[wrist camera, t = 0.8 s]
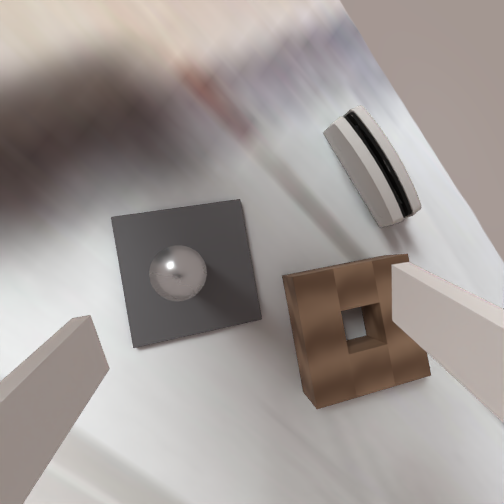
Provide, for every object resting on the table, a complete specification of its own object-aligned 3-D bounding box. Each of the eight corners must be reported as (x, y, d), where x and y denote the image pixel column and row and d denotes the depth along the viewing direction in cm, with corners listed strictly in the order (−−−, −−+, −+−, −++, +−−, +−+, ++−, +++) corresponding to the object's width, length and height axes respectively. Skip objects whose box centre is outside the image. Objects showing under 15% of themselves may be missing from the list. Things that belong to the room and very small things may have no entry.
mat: (113, 218, 34) (110, 217, 33) (239, 200, 37) (240, 199, 36) (134, 346, 34) (133, 348, 33) (260, 318, 36) (261, 319, 36)
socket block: (282, 275, 37) (292, 276, 33) (385, 255, 40) (407, 253, 36) (303, 392, 37) (316, 409, 33) (405, 363, 40) (431, 375, 35)
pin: (170, 257, 34) (144, 250, 19) (202, 251, 35) (201, 241, 20) (175, 288, 34) (154, 306, 19) (207, 282, 35) (211, 295, 20)
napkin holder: (405, 211, 41) (443, 211, 31) (376, 228, 42) (405, 233, 32) (348, 115, 40) (369, 83, 30) (320, 134, 41) (331, 109, 31)
